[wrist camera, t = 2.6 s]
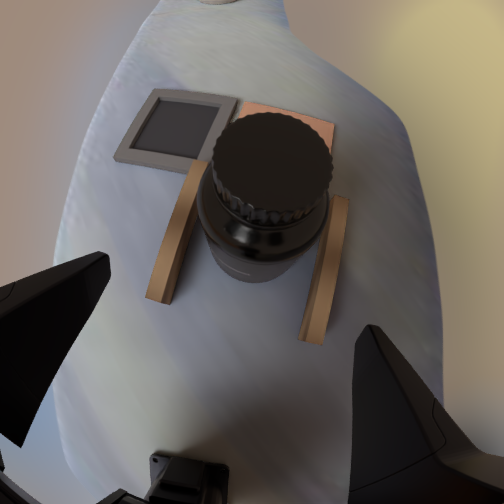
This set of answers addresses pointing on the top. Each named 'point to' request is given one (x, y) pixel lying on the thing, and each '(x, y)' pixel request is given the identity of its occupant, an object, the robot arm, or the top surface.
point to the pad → (318, 125)
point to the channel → (323, 270)
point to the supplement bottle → (264, 195)
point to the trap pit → (175, 130)
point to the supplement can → (216, 1)
